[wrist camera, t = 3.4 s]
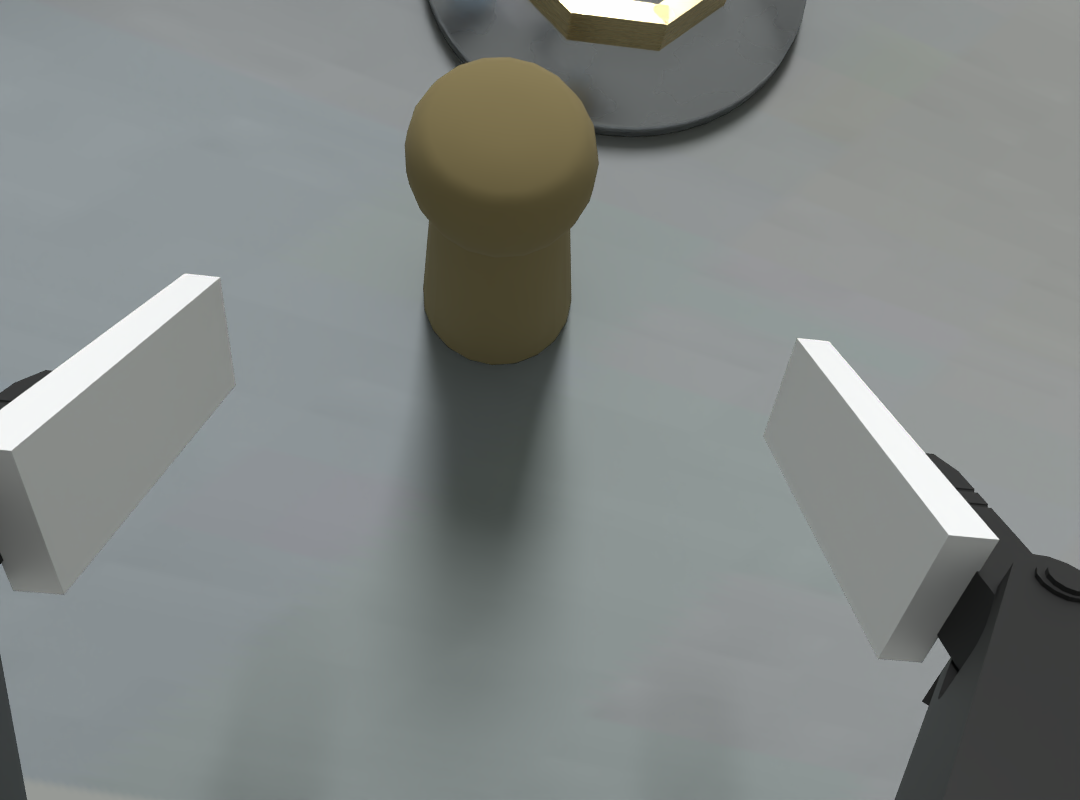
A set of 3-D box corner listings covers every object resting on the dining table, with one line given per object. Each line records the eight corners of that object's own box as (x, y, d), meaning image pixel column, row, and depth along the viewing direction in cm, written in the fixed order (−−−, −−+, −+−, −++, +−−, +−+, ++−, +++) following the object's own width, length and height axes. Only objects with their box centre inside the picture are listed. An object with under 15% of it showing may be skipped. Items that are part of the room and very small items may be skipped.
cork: (391, 300, 26) (326, 124, 16) (489, 200, 28) (490, -25, 17) (506, 395, 26) (519, 278, 15) (600, 287, 27) (672, 112, 17)
